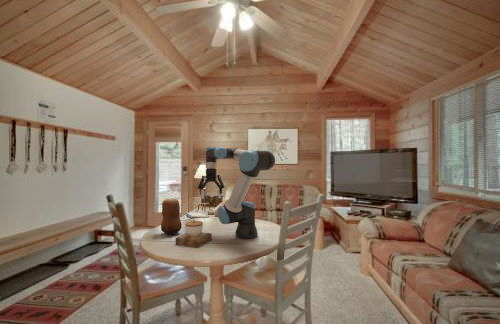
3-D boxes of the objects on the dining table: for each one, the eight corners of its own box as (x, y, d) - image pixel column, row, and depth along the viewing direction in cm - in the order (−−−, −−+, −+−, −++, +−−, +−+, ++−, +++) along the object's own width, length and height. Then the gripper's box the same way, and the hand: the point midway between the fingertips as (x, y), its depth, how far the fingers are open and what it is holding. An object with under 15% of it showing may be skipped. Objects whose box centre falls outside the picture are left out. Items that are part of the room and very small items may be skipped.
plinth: (211, 239, 167) (211, 233, 167) (198, 247, 152) (198, 240, 152) (190, 237, 173) (190, 230, 173) (175, 244, 158) (175, 237, 158)
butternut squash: (174, 230, 189) (174, 196, 189) (185, 233, 180) (185, 198, 180) (156, 234, 178) (156, 198, 178) (167, 238, 170) (167, 200, 169)
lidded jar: (198, 238, 156) (198, 222, 156) (182, 237, 158) (182, 221, 158) (205, 233, 167) (205, 218, 167) (189, 232, 169) (189, 218, 169)
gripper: (229, 168, 184) (229, 198, 181) (198, 169, 193) (198, 198, 190) (224, 167, 177) (224, 198, 174) (193, 169, 186) (192, 198, 183)
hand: (211, 198), depth 182 cm, fingers open, 13 cm apart
